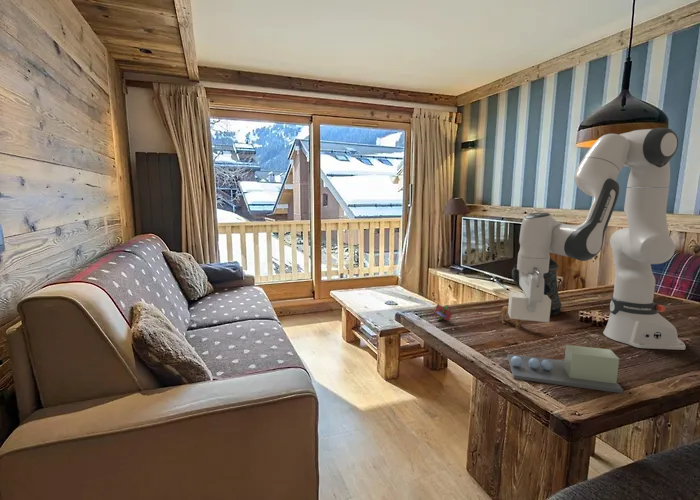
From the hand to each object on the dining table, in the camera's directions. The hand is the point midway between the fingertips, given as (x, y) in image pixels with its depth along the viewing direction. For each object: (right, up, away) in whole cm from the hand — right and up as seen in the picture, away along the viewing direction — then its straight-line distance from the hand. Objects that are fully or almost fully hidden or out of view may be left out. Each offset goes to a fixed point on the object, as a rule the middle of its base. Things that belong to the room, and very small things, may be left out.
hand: (528, 308), depth 115 cm
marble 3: (-1, -16, -11) cm, 19 cm away
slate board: (+3, -17, -11) cm, 21 cm away
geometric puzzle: (-19, -10, +32) cm, 39 cm away
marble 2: (-4, -16, -10) cm, 19 cm away
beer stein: (+26, -8, +45) cm, 53 cm away
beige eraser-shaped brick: (0, -3, +1) cm, 3 cm away
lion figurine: (+7, -11, +27) cm, 30 cm away
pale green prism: (+10, -16, -14) cm, 24 cm away
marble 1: (-7, -15, -9) cm, 19 cm away
